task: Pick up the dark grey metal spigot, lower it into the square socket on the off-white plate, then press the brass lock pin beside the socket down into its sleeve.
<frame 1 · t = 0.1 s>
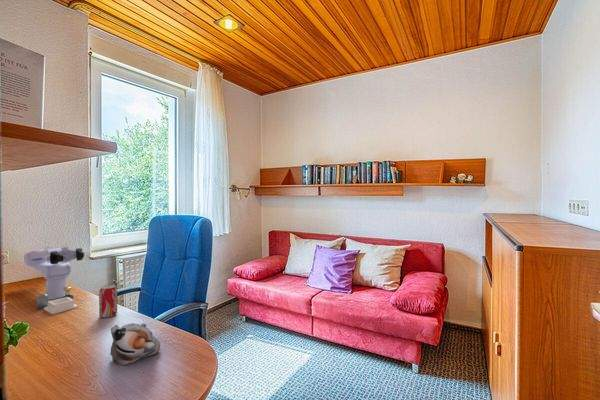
hand: (72, 256, 136), 22 cm above the table, tool horizontal, fingers open, 7 cm apart
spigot: (42, 307, 133), on the table
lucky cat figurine: (137, 357, 93), on the table
dock: (61, 308, 131), on the table
lock pin: (67, 291, 138), point 5 cm above the table, slide at 0.0 cm
beverage can: (108, 316, 124), on the table
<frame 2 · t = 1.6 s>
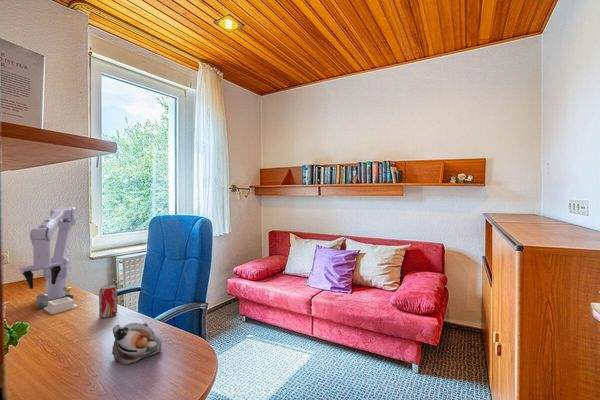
hand: (42, 286, 132), 9 cm above the table, tool pointing down, fingers open, 7 cm apart
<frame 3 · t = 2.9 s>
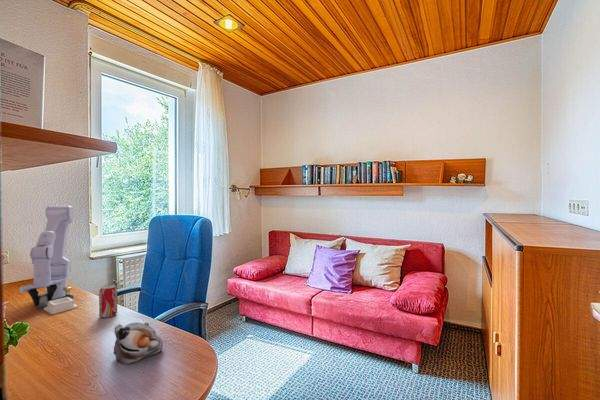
hand: (42, 304, 133), 1 cm above the table, tool pointing down, fingers closed on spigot, 4 cm apart
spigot: (42, 307, 133), on the table, touching gripper
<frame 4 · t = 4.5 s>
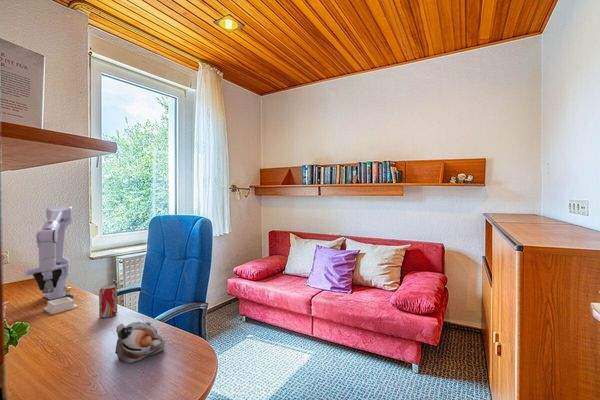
hand: (47, 288, 132), 8 cm above the table, tool pointing down, fingers closed on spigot, 4 cm apart
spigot: (47, 292, 132), point 7 cm above the table, touching gripper
when the fingers open (4 cm above the table, at t = 6.0 s): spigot drops 2 cm, resting on dock.
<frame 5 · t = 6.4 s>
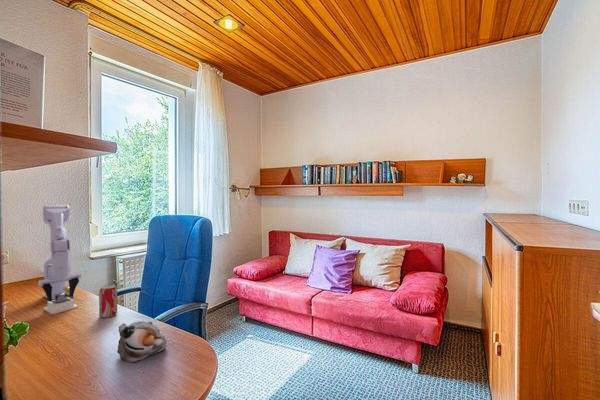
hand: (60, 298, 131), 4 cm above the table, tool pointing down, fingers open, 7 cm apart
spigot: (60, 306, 131), point 1 cm above the table, touching dock
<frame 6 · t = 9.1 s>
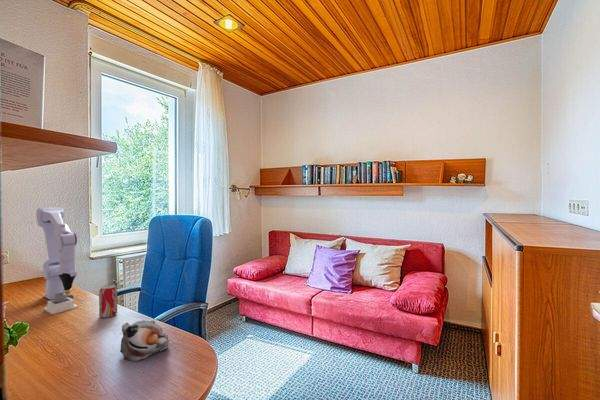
hand: (67, 289, 138), 6 cm above the table, tool pointing down, fingers closed, pressing on lock pin
lock pin: (67, 294, 138), point 4 cm above the table, slide at 1.0 cm, touching gripper
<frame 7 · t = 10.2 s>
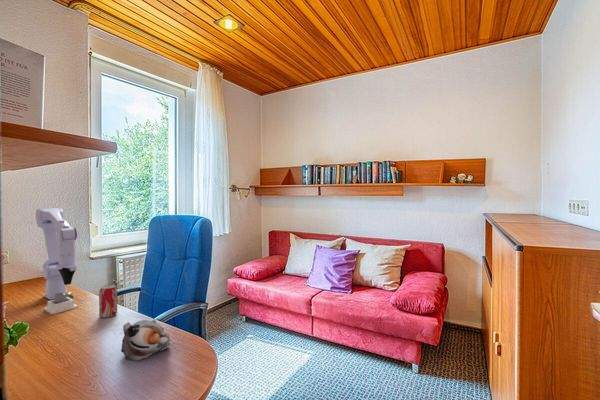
hand: (67, 284, 138), 8 cm above the table, tool pointing down, fingers closed
lock pin: (67, 297, 138), point 2 cm above the table, slide at 2.6 cm
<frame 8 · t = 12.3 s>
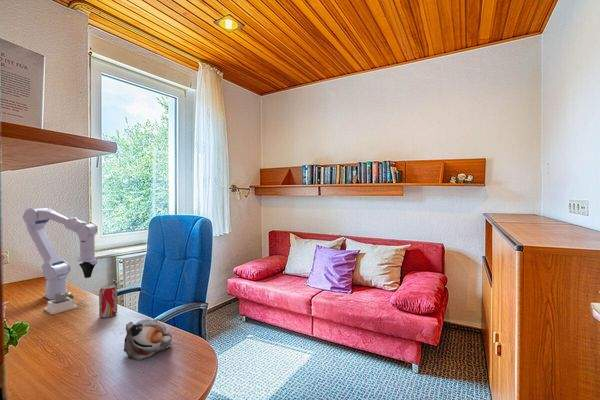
hand: (87, 277, 146), 9 cm above the table, tool pointing down, fingers closed
at the end: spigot 0.1 cm off-centre on the dock, point 0.8 cm above the dock's base; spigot tilted 0°; lock pin slide at 2.6 cm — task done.
